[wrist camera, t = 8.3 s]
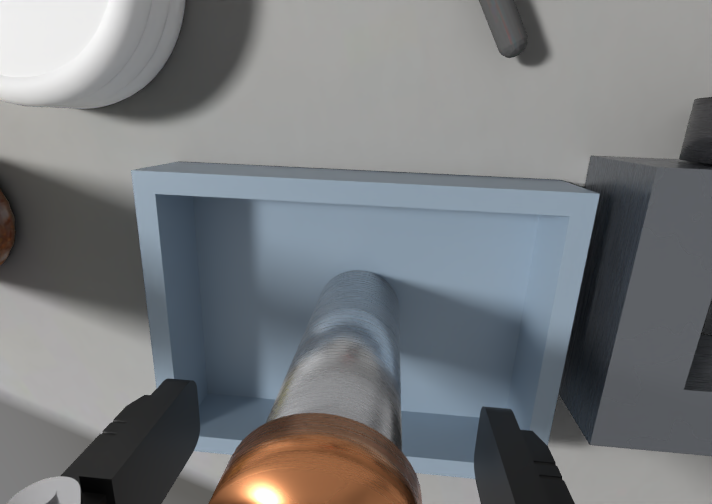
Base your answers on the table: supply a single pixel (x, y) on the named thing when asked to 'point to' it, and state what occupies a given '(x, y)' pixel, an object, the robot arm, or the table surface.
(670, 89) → the table surface
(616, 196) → the block
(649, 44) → the table surface
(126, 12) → the white round disc stack
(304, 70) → the table surface
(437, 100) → the table surface
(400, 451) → the lock pin
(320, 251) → the tray
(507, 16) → the walkie-talkie
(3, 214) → the sauce bottle
